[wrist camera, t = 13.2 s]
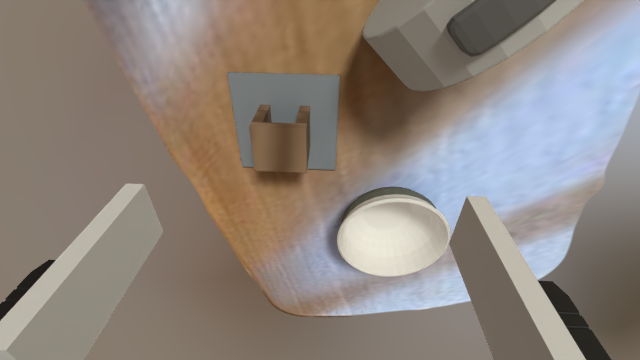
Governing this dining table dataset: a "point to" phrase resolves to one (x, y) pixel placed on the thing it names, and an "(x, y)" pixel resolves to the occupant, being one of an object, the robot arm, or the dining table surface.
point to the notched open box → (280, 142)
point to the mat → (288, 109)
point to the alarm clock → (456, 35)
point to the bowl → (392, 232)
